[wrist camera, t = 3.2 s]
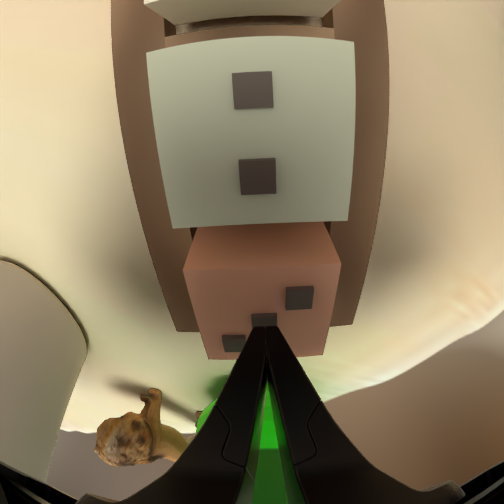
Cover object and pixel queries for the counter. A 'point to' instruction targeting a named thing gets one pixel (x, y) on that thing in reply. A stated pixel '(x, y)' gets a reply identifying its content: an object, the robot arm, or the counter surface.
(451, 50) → the counter surface
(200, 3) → the tile one pip
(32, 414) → the cylinder vase
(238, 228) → the tile three pips
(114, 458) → the lion figurine
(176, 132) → the tile two pips
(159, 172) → the walnut board
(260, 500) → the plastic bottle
